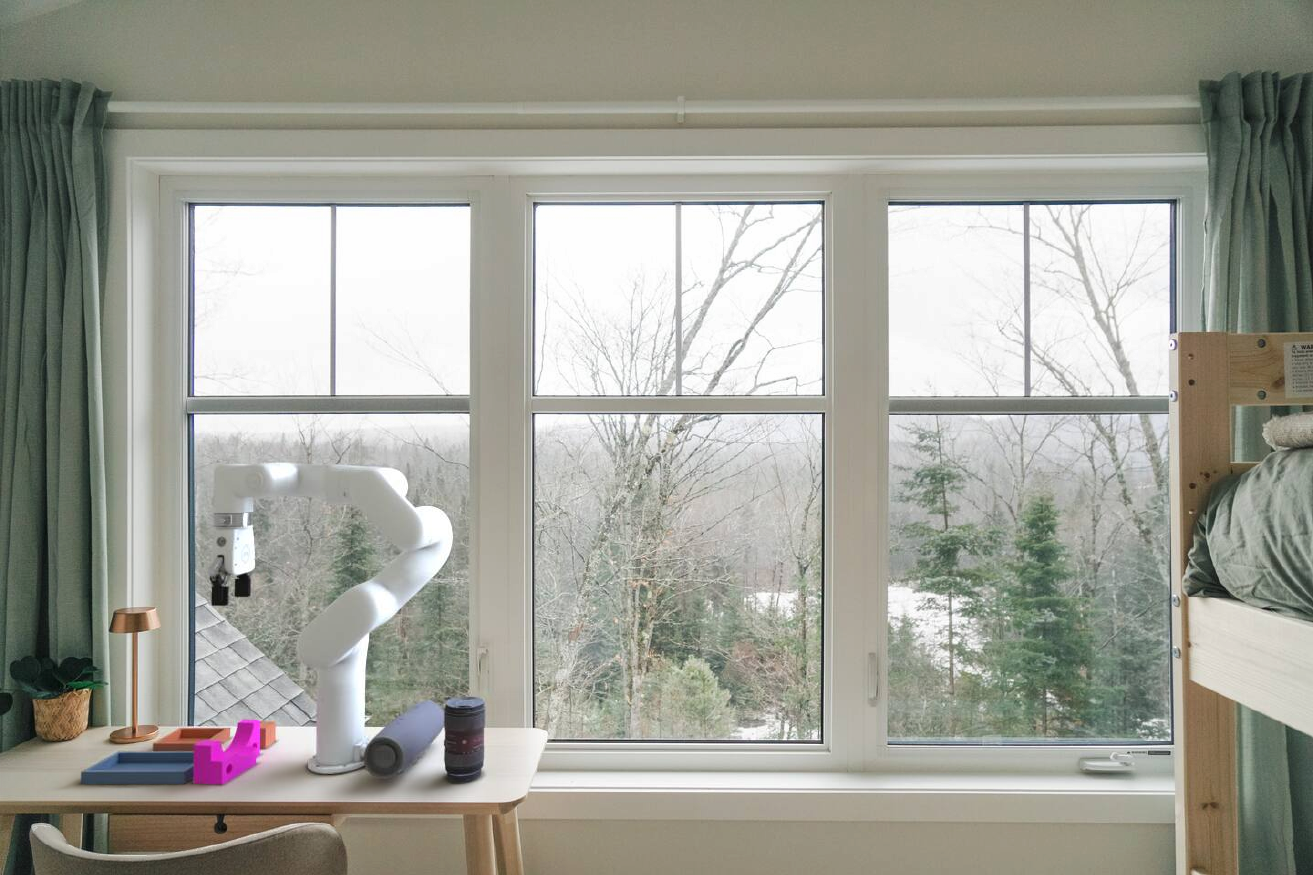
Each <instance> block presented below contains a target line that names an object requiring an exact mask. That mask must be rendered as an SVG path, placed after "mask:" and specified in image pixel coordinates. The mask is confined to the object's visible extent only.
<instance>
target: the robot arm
mask: <svg viewBox="0 0 1313 875" xmlns="http://www.w3.org/2000/svg"><path fill="white" fill-rule="evenodd" d="M408 486H409V485H408V481H407V479H406V477H405V475H404V474H403V473H402V472H401V471H399V470H398V469H395V468H392V467H385V466H370V465H369V466H368V465H367V466H366V465H352V464H351V465H350V464H336V463H335V464H334V463H332V464H331V463H330V464H313V463H297V462H258V463H251V464H249V463H220V464H218V465H216V466H215V468H214V471H213V504H212V505H213V508H212V509H213V510H212V512H213V513H212V529H213V530H214V532H213V538H212V545H211V546H212V549H211V564H210V565H209V567H208V574H209V581H210V587H211V604H210V605H211V606H212V607H226V606H228V605H229V601H230V599H229V598H230V597H229V596H230V586H229V585H228V582H229V581H230V578H231V576H232V577H236V578H234V597H235V598H250V597H251V594H252V592H251V590H252V577H253V573H252V572H253V570H254V569H255V567H256V553H255V552H256V550H255V536H254V529H253V527H254V499H260V500H261V499H272V498H281V497H283V498H284V497H293V498H294V497H296V498H301V497H302V498H311V499H313V498H314V499H320V500H323V501H325V503H327V504H329V505H339V506H340V505H341V506H356V507H357V509H358V510H359V511H360V512H361V513H362V514H363V516H364V517H365V518H366V520H368V521H369V522H370V523H371V524H372V525H373V526H374V527H375V528H376V529H377V531H378V532H379V533H380V534H381V535H382V536H383V537H384V538H385V539H386V540H387V541H388V542H389V543H390V544H391V545H392V546H394V547H395V548H397V549H399V550H401V551H402V552H400V553H399V554H398V555H397V556H396V557H395V558H393V559H392V560H391V561H390V562H389V563H388V564H387V565H386V566H385V567H384V568H383V569H382V570H381V571H380V572H378V573H377V574H376V575H374V576H373V577H372V578H370V579H369V580H366V581H364V582H361V583H359V584H357V585H354V586H352V587H350V588H348V589H347V590H345V591H344V592H343V593H341V594H340V595H339V596H338V597H336V598H335V599H334V600H333V601H332V602H331V603H330V604H329V605H328V606H327V607H326V608H324V609H323V610H322V611H321V612H320V613H319V614H318V615H317V616H315V618H314V619H313V620H311V621H310V622H309V623H308V624H307V625H306V626H305V627H304V628H303V629H302V631H301V633H300V634H299V636H298V638H297V640H296V654H297V655H296V656H297V657H298V660H299V661H300V662H301V663H302V664H303V665H304V666H306V667H307V668H310V669H313V670H317V674H316V675H317V676H316V706H315V707H316V709H315V710H316V712H315V713H316V714H315V715H316V716H315V717H316V720H315V722H316V723H315V724H316V726H315V730H316V731H315V732H316V734H315V745H316V746H315V754H313V755H312V756H310V757H309V759H308V761H307V768H308V769H309V770H310V771H311V772H313V773H316V774H326V775H331V774H341V773H347V772H351V771H354V770H358V769H360V768H362V767H364V766H365V764H364V752H365V749H366V747H367V745H368V744H369V743H370V735H365V733H366V732H365V729H366V726H365V724H366V718H365V717H366V716H365V714H366V710H365V709H366V667H367V666H366V665H367V656H368V650H369V641H370V633H371V632H372V631H374V630H375V629H376V628H378V627H380V626H382V625H384V624H385V623H386V622H387V623H388V621H390V620H391V619H393V617H394V616H395V615H396V614H397V613H398V612H399V611H400V609H401V608H403V607H404V606H405V605H406V604H407V603H408V602H409V601H410V600H411V599H412V598H413V597H414V596H416V595H417V594H418V592H420V591H421V589H422V588H423V587H424V586H426V584H427V583H428V582H430V581H431V579H433V578H434V577H435V576H436V575H437V573H438V572H439V571H440V570H441V568H442V567H443V566H444V564H445V563H446V562H447V559H448V558H449V556H450V552H451V549H452V546H453V528H452V524H451V521H450V519H449V517H448V515H447V514H446V513H445V512H444V511H443V510H441V509H440V508H437V507H436V506H432V505H431V506H430V505H423V506H417V507H414V505H413V504H412V503H411V502H410V501H409V500H408V499H407V498H406V495H407V493H408Z"/></svg>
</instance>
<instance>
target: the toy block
mask: <svg viewBox="0 0 1313 875" xmlns="http://www.w3.org/2000/svg"><path fill="white" fill-rule="evenodd" d="M260 722H261V719H247V718H246V719H245V718H244V719H242V720H240V721H238V722H237V724H236V725H237V726H236V730H235V731H236V732H235V733H234V736H233V738H232V740H231V742H230V744H229V745H228V746H227V747H226V749H223V746H222V744H221V741H213V740H203V741H201V742H199V743H197V744H195V745H194V777H193V784H201V785H203V784H204V785H220V786H223V785H224V784H226V783H228V782H229V781H231V780H233V779H235V778H236V777H238V776H239V775H241V774H242V773H244V772H246V771H247V770H249V769H250V768H253V767H254V766H255V765H257V757H258V756H260V755H261V753H260V752H261V751H260V750H261V749H260Z"/></svg>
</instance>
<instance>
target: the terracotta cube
mask: <svg viewBox="0 0 1313 875" xmlns="http://www.w3.org/2000/svg"><path fill="white" fill-rule="evenodd" d="M276 728H277V723H276V721H260V750H267V748H269V747H270V746H271V745H272V744H275V742H276V738H277V737H276V736H277V734H276V732H277V729H276Z"/></svg>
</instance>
